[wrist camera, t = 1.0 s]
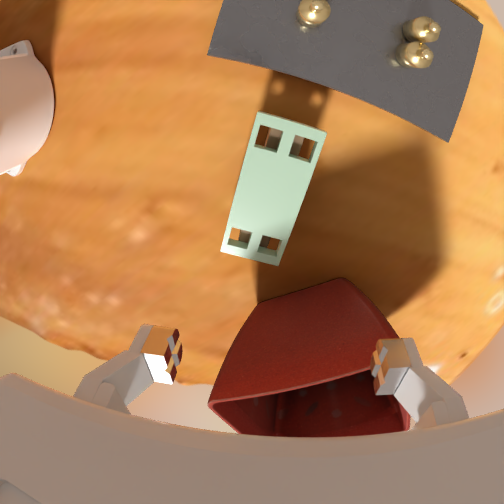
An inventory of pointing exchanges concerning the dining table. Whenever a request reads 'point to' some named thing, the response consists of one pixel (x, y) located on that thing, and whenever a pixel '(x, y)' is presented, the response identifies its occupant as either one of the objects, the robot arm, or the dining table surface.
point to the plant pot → (308, 368)
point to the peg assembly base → (362, 50)
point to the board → (271, 189)
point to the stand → (273, 142)
